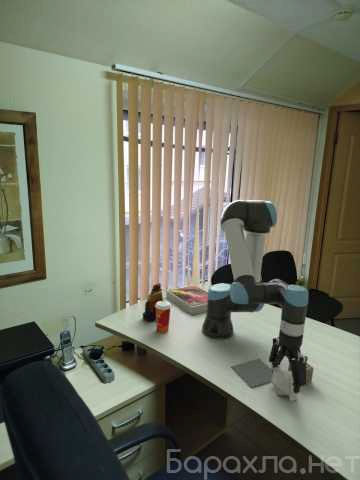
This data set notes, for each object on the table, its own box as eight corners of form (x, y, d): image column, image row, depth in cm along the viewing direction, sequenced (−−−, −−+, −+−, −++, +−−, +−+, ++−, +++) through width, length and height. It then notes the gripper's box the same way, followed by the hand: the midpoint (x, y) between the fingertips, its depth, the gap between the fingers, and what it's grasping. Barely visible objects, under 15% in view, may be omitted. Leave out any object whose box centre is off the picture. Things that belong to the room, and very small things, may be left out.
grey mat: (230, 367, 118) (230, 366, 118) (259, 359, 124) (259, 358, 123) (251, 388, 106) (251, 386, 106) (281, 378, 112) (281, 377, 112)
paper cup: (154, 326, 148) (155, 300, 145) (170, 326, 148) (170, 300, 146) (154, 334, 140) (155, 307, 137) (170, 334, 141) (171, 307, 138)
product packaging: (192, 315, 162) (192, 307, 161) (166, 297, 185) (166, 290, 184) (222, 307, 174) (222, 299, 173) (194, 292, 197) (194, 284, 196)
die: (292, 407, 99) (307, 382, 100) (269, 391, 100) (285, 366, 101) (284, 398, 107) (298, 375, 108) (264, 383, 108) (278, 361, 109)
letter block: (287, 376, 114) (289, 361, 113) (299, 372, 116) (301, 358, 115) (299, 386, 109) (301, 371, 107) (311, 382, 111) (313, 367, 110)
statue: (156, 313, 163) (157, 278, 159) (164, 318, 157) (165, 282, 153) (137, 318, 155) (137, 282, 151) (145, 324, 149) (146, 287, 146)
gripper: (262, 319, 107) (256, 375, 112) (307, 349, 89) (298, 415, 93) (278, 316, 110) (272, 371, 115) (325, 345, 92) (315, 408, 96)
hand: (283, 390), depth 104 cm, fingers open, 8 cm apart
